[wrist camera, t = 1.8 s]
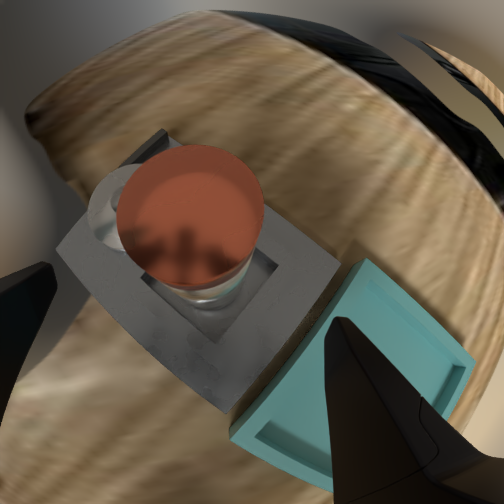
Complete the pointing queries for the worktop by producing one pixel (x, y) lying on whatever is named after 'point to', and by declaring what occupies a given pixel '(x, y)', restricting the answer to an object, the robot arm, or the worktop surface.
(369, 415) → the robot arm
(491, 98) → the worktop surface
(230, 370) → the block
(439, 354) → the tray
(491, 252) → the worktop surface
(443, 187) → the worktop surface
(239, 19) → the worktop surface
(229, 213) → the pin
